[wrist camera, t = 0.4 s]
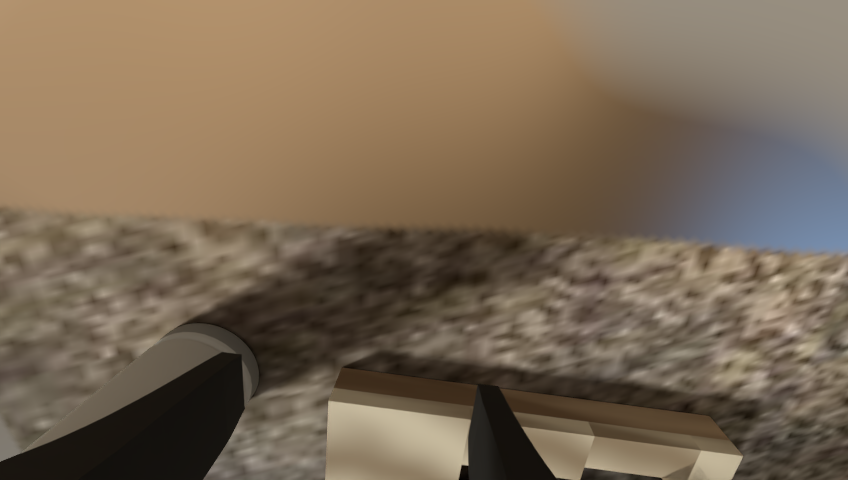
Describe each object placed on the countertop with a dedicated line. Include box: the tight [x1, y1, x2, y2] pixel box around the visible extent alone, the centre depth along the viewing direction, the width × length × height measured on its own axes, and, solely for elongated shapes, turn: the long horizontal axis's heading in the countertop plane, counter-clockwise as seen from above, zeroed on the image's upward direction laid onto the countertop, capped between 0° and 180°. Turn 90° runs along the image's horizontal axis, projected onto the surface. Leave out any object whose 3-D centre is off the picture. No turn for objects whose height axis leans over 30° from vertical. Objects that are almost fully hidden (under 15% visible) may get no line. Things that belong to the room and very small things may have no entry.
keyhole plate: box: [325, 368, 743, 480], centre depth 24 cm, size 10×22×3 cm, turn 83°
